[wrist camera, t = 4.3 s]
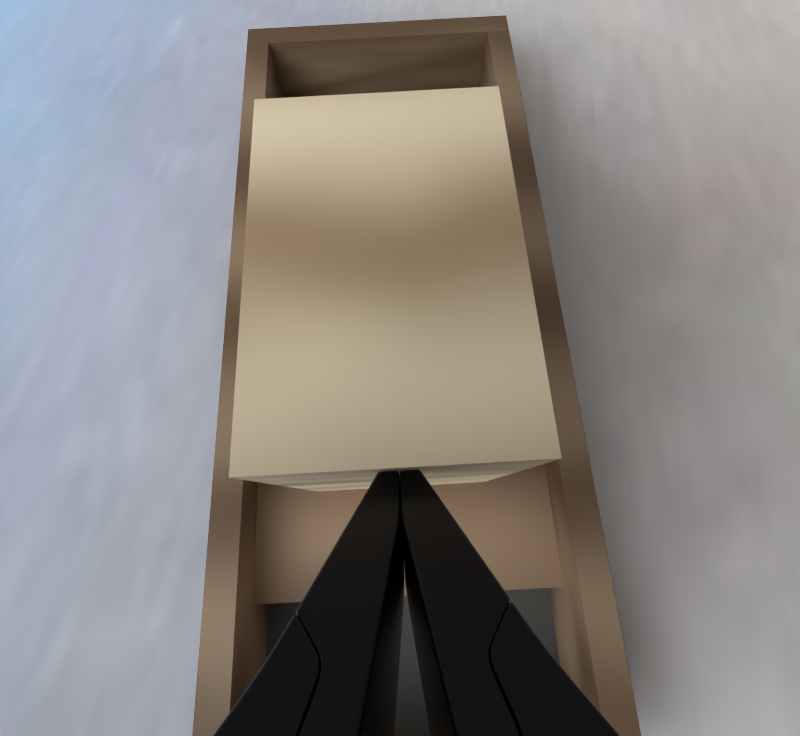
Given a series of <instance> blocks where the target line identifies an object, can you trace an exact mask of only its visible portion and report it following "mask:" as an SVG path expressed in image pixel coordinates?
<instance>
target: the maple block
mask: <svg viewBox="0 0 800 736" xmlns="http://www.w3.org/2000/svg"><path fill="white" fill-rule="evenodd" d="M558 459H562V458H561V452H560V446H559V440H558V434H557V428H556V422H555V416H554V410H553V404H552V398H551V392H550V387H549V381H548V375H547V369H546V363H545V357H544V351H543V345H542V339H541V333H540V327H539V321H538V316H537V310H536V304H535V298H534V292H533V286H532V280H531V274H530V268H529V262H528V256H527V250H526V245H525V239H524V233H523V227H522V221H521V215H520V209H519V203H518V197H517V191H516V185H515V179H514V174H513V168H512V162H511V156H510V150H509V144H508V138H507V132H506V126H505V120H504V114H503V108H502V103H501V97H500V91H499V86H492V87H473V88H455V89H436V90H418V91H399V92H381V93H362V94H344V95H325V96H307V97H288V98H270V99H254V112H253V127H252V141H251V156H250V171H249V185H248V200H247V215H246V230H245V244H244V259H243V274H242V288H241V303H240V318H239V333H238V347H237V362H236V377H235V391H234V406H233V421H232V436H231V450H230V465H229V478H235V479H242V480H248V481H254V482H261V483H267V484H273V485H279V486H286V487H292V488H298V489H305V490H311V491H317V492H318V491H335V490H353V489H368V488H369V487H370V485H371V483H372V482H373V480H374V478H375V477H376V475H377V473H378V472H381V471H398V472H399V473H400V471H402V470H416V469H418V470H420V471H421V472H422V473H423V475H424V476H425V477H426V479H427V480H428V482H429V483H430V485H440V484H458V483H475V482H486V481H489V480H492V479H496V478H499V477H502V476H506V475H509V474H512V473H516V472H519V471H522V470H525V469H529V468H532V467H535V466H539V465H542V464H545V463H548V462H552V461H555V460H558ZM399 479H400V478H399Z"/></svg>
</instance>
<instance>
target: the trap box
mask: <svg viewBox="0 0 800 736" xmlns="http://www.w3.org/2000/svg"><path fill="white" fill-rule="evenodd" d="M492 86H499V91H500V97H501V103H502V108H503V114H504V120H505V126H506V132H507V138H508V144H509V150H510V156H511V162H512V168H513V174H514V179H515V185H516V191H517V197H518V203H519V209H520V215H521V221H522V227H523V233H524V239H525V245H526V250H527V256H528V262H529V268H530V274H531V280H532V286H533V292H534V298H535V304H536V310H537V316H538V321H539V327H540V333H541V339H542V345H543V351H544V357H545V363H546V369H547V375H548V381H549V387H550V392H551V398H552V404H553V410H554V416H555V422H556V428H557V434H558V440H559V446H560V452H561V458H562V459H558V460H555V461H552V462H548V463H545V464H542V465H539V466H535V467H532V468H529V469H525V470H522V471H519V472H516V473H512V474H509V475H506V476H502V477H499V478H496V479H492V480H489V481H486V482H475V483H458V484H440V485H431V486H432V487H433V489H434V490H435V492H436V493H437V495H438V496H439V497H440V499H441V500H442V502H443V503H444V505H445V506H446V507H447V509H448V510H449V512H450V513H451V515H452V516H453V517H454V519H455V520H456V522H457V523H458V525H459V526H460V527H461V529H462V530H463V532H464V533H465V535H466V536H467V538H468V539H469V540H470V542H471V543H472V545H473V546H474V548H475V549H476V550H477V552H478V553H479V555H480V556H481V558H482V559H483V560H484V562H485V563H486V565H487V566H488V568H489V569H490V570H491V572H492V573H493V575H494V576H495V578H496V579H497V580H498V582H499V583H500V585H501V586H502V588H503V589H504V590H505V592H506V593H507V595H508V596H509V598H510V599H511V602H510V603H514V604H515V606H516V607H517V609H518V610H519V611H520V613H521V614H522V616H523V617H524V619H525V620H526V621H527V623H528V624H529V626H530V627H531V628H532V630H533V631H534V632H535V634H536V635H537V636H538V638H539V639H540V640H541V642H542V643H543V644H544V646H545V647H546V648H547V650H548V651H549V652H550V654H551V655H552V656H553V657H554V659H555V660H556V661H557V662H558V663H559V665H560V666H561V667H562V668H563V669H564V671H565V672H566V673H567V674H568V675H569V677H570V678H571V679H572V680H573V681H574V683H575V684H576V685H577V686H578V687H579V689H580V690H581V691H582V692H583V693H584V694H585V695H586V697H587V698H588V699H589V700H590V701H591V702H592V704H593V705H594V706H595V707H596V708H597V709H598V710H599V712H600V713H601V714H602V715H603V716H604V717H605V719H606V720H607V721H608V722H609V723H610V724H611V725H612V727H613V728H614V729H615V730H616V731H617V732H618V734H619V735H620V736H641V733H640V728H639V722H638V717H637V712H636V706H635V701H634V696H633V690H632V685H631V680H630V674H629V669H628V664H627V658H626V653H625V648H624V642H623V637H622V632H621V626H620V621H619V616H618V610H617V605H616V600H615V594H614V589H613V584H612V578H611V573H610V568H609V562H608V557H607V552H606V546H605V541H604V536H603V530H602V525H601V520H600V514H599V509H598V504H597V498H596V493H595V488H594V482H593V477H592V472H591V466H590V461H589V456H588V450H587V445H586V440H585V434H584V429H583V424H582V419H581V413H580V408H579V403H578V397H577V392H576V387H575V381H574V376H573V371H572V365H571V360H570V355H569V349H568V344H567V339H566V333H565V328H564V323H563V317H562V312H561V307H560V301H559V296H558V291H557V285H556V280H555V275H554V269H553V264H552V259H551V253H550V248H549V243H548V237H547V232H546V227H545V221H544V216H543V211H542V205H541V200H540V195H539V189H538V184H537V179H536V173H535V168H534V163H533V157H532V152H531V147H530V141H529V136H528V131H527V125H526V120H525V115H524V109H523V104H522V99H521V93H520V88H519V83H518V77H517V72H516V67H515V61H514V56H513V51H512V45H511V40H510V35H509V29H508V24H507V19H506V16H489V17H471V18H452V19H433V20H415V21H396V22H378V23H359V24H341V25H322V26H303V27H285V28H266V29H248V41H247V54H246V66H245V79H244V92H243V104H242V117H241V129H240V142H239V155H238V167H237V180H236V193H235V205H234V218H233V231H232V243H231V256H230V268H229V281H228V294H227V306H226V319H225V332H224V344H223V357H222V370H221V382H220V395H219V407H218V420H217V433H216V445H215V458H214V471H213V483H212V496H211V509H210V521H209V534H208V546H207V559H206V572H205V584H204V597H203V610H202V622H201V635H200V648H199V660H198V673H197V685H196V698H195V711H194V723H193V736H213V735H214V733H215V732H216V731H217V729H218V728H219V726H220V725H221V724H222V722H223V721H224V720H225V718H226V717H227V716H228V714H229V713H230V711H231V710H232V709H233V707H234V706H235V705H236V703H237V702H238V700H239V699H240V697H241V696H242V695H243V693H244V692H245V690H246V689H247V687H248V686H249V685H250V683H251V682H252V680H253V679H254V677H255V676H256V675H257V673H258V672H259V670H260V669H261V667H262V666H263V664H264V663H265V661H266V659H267V658H268V656H269V655H270V653H271V651H272V650H273V648H274V647H275V645H276V643H277V642H278V640H279V639H280V637H281V635H282V634H283V632H284V630H285V629H286V627H287V625H288V623H289V622H290V620H291V618H292V617H293V616H294V615H296V610H297V609H298V607H299V605H300V604H301V602H302V600H303V598H304V597H305V595H306V593H307V592H308V590H309V588H310V587H311V585H312V583H313V582H314V580H315V578H316V576H317V575H318V573H319V571H320V570H321V568H322V566H323V565H324V563H325V561H326V560H327V558H328V556H329V554H330V553H331V551H332V549H333V548H334V546H335V544H336V543H337V541H338V539H339V537H340V536H341V534H342V532H343V531H344V529H345V527H346V526H347V524H348V522H349V521H350V519H351V517H352V515H353V514H354V512H355V510H356V509H357V507H358V505H359V504H360V502H361V500H362V499H363V497H364V495H365V493H366V492H367V490H368V489H353V490H335V491H318V492H317V491H311V490H305V489H298V488H292V487H286V486H279V485H273V484H267V483H261V482H254V481H248V480H242V479H235V478H229V465H230V450H231V436H232V421H233V406H234V391H235V377H236V362H237V347H238V333H239V318H240V303H241V288H242V274H243V259H244V244H245V230H246V215H247V200H248V185H249V171H250V156H251V141H252V127H253V112H254V99H270V98H288V97H307V96H325V95H344V94H362V93H381V92H399V91H418V90H436V89H455V88H473V87H492ZM404 581H405V571H404ZM394 736H430V731H429V725H428V719H427V713H426V707H425V701H424V695H423V689H422V683H421V677H420V671H419V665H418V659H417V653H416V647H415V641H414V635H413V629H412V623H411V617H410V611H409V605H408V599H407V592H406V584H405V587H404V606H403V619H402V633H401V647H400V661H399V675H398V689H397V703H396V717H395V731H394Z"/></svg>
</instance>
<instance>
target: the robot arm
mask: <svg viewBox="0 0 800 736" xmlns="http://www.w3.org/2000/svg"><path fill="white" fill-rule="evenodd" d="M399 478H400V479H399ZM404 571H405V581H404ZM405 584H406V592H407V599H408V605H409V611H410V617H411V623H412V629H413V635H414V641H415V647H416V653H417V659H418V665H419V671H420V677H421V683H422V689H423V695H424V701H425V707H426V713H427V719H428V725H429V731H430V736H620V735H619V734H618V732H617V731H616V730H615V729H614V728H613V727H612V725H611V724H610V723H609V722H608V721H607V720H606V719H605V717H604V716H603V715H602V714H601V713H600V712H599V710H598V709H597V708H596V707H595V706H594V705H593V704H592V702H591V701H590V700H589V699H588V698H587V697H586V695H585V694H584V693H583V692H582V691H581V690H580V689H579V687H578V686H577V685H576V684H575V683H574V681H573V680H572V679H571V678H570V677H569V675H568V674H567V673H566V672H565V671H564V669H563V668H562V667H561V666H560V665H559V663H558V662H557V661H556V660H555V659H554V657H553V656H552V655H551V654H550V652H549V651H548V650H547V648H546V647H545V646H544V644H543V643H542V642H541V640H540V639H539V638H538V636H537V635H536V634H535V632H534V631H533V630H532V628H531V627H530V626H529V624H528V623H527V621H526V620H525V619H524V617H523V616H522V614H521V613H520V611H519V610H518V609H517V607H516V606H515V604H514V603H510V602H511V599H510V598H509V596H508V595H507V593H506V592H505V590H504V589H503V588H502V586H501V585H500V583H499V582H498V580H497V579H496V578H495V576H494V575H493V573H492V572H491V570H490V569H489V568H488V566H487V565H486V563H485V562H484V560H483V559H482V558H481V556H480V555H479V553H478V552H477V550H476V549H475V548H474V546H473V545H472V543H471V542H470V540H469V539H468V538H467V536H466V535H465V533H464V532H463V530H462V529H461V527H460V526H459V525H458V523H457V522H456V520H455V519H454V517H453V516H452V515H451V513H450V512H449V510H448V509H447V507H446V506H445V505H444V503H443V502H442V500H441V499H440V497H439V496H438V495H437V493H436V492H435V490H434V489H433V487H432V486H431V485H430V483H429V482H428V480H427V479H426V477H425V476H424V475H423V473H422V472H421V471H420V470H418V469H416V470H402V471H400V473H399V472H398V471H381V472H378V473H377V475H376V477H375V478H374V480H373V482H372V483H371V485H370V487H369V488H368V490H367V492H366V493H365V495H364V497H363V499H362V500H361V502H360V504H359V505H358V507H357V509H356V510H355V512H354V514H353V515H352V517H351V519H350V521H349V522H348V524H347V526H346V527H345V529H344V531H343V532H342V534H341V536H340V537H339V539H338V541H337V543H336V544H335V546H334V548H333V549H332V551H331V553H330V554H329V556H328V558H327V560H326V561H325V563H324V565H323V566H322V568H321V570H320V571H319V573H318V575H317V576H316V578H315V580H314V582H313V583H312V585H311V587H310V588H309V590H308V592H307V593H306V595H305V597H304V598H303V600H302V602H301V604H300V605H299V607H298V609H297V610H296V615H294V616H293V617H292V618H291V620H290V622H289V623H288V625H287V627H286V629H285V630H284V632H283V634H282V635H281V637H280V639H279V640H278V642H277V643H276V645H275V647H274V648H273V650H272V651H271V653H270V655H269V656H268V658H267V659H266V661H265V663H264V664H263V666H262V667H261V669H260V670H259V672H258V673H257V675H256V676H255V677H254V679H253V680H252V682H251V683H250V685H249V686H248V687H247V689H246V690H245V692H244V693H243V695H242V696H241V697H240V699H239V700H238V702H237V703H236V705H235V706H234V707H233V709H232V710H231V711H230V713H229V714H228V716H227V717H226V718H225V720H224V721H223V722H222V724H221V725H220V726H219V728H218V729H217V731H216V732H215V733H214V735H213V736H394V731H395V717H396V703H397V689H398V675H399V661H400V647H401V633H402V619H403V606H404V587H405Z"/></svg>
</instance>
